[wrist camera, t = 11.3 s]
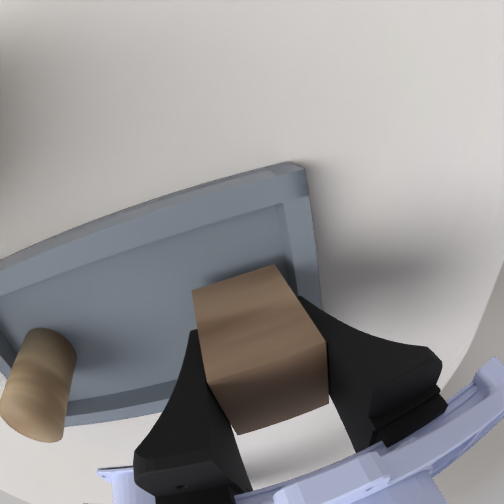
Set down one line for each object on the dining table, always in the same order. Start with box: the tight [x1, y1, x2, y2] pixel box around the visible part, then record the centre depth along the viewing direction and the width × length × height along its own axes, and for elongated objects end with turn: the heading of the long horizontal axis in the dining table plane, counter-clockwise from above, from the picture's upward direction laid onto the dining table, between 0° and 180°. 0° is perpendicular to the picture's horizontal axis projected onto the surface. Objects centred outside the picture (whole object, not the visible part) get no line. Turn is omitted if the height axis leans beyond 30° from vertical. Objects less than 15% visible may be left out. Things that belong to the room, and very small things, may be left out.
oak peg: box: [0, 328, 77, 443], centre depth 12 cm, size 4×4×6 cm
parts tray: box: [0, 162, 322, 427], centre depth 15 cm, size 12×20×2 cm, turn 102°
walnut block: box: [191, 264, 329, 435], centre depth 12 cm, size 4×4×6 cm
